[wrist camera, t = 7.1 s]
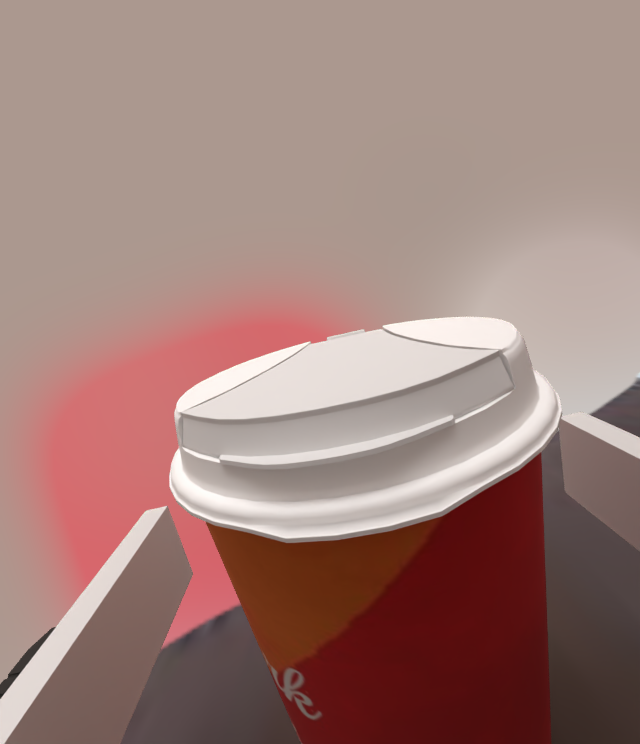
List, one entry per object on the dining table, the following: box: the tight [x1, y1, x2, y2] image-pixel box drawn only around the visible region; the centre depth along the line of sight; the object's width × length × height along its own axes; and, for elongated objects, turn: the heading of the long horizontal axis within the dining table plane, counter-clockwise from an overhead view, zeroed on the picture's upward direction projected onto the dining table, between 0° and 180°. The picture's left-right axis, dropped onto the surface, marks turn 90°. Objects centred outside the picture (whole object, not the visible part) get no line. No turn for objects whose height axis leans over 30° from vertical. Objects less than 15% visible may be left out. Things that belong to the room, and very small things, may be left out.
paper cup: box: [169, 317, 562, 744], centre depth 9 cm, size 8×8×14 cm
